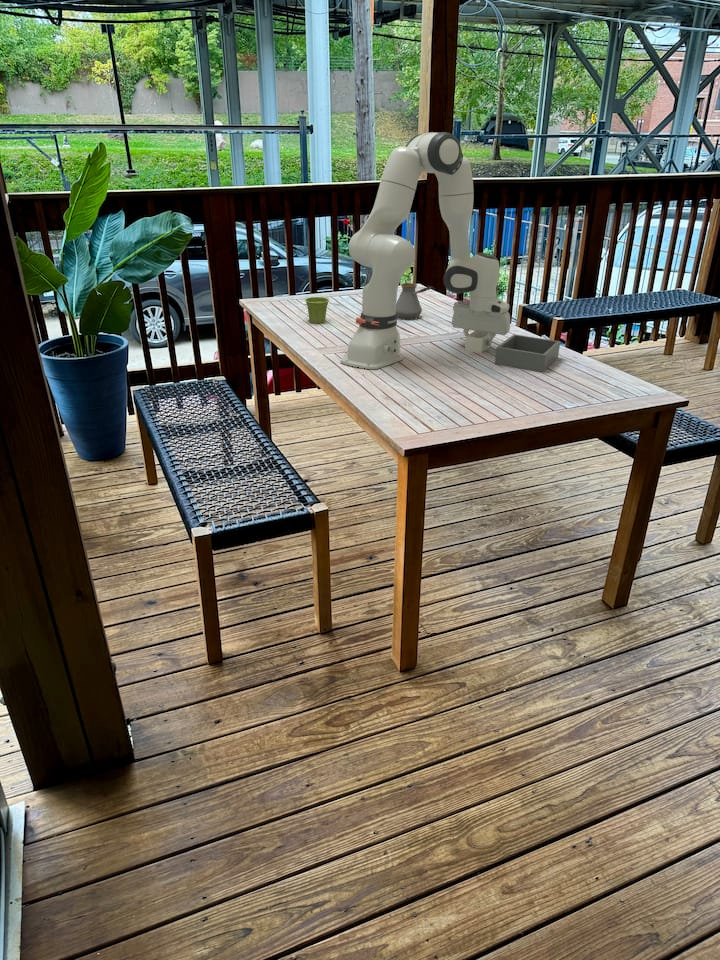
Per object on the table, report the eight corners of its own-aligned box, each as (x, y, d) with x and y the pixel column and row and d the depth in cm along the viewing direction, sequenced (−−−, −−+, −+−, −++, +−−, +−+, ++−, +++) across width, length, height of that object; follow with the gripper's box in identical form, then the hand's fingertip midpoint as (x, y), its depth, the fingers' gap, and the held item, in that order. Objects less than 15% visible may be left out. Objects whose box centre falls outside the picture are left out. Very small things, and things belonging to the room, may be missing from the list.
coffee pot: (388, 315, 268) (389, 278, 261) (411, 312, 273) (412, 275, 266) (418, 327, 252) (420, 288, 245) (441, 323, 257) (444, 285, 250)
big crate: (542, 373, 206) (545, 355, 204) (494, 365, 213) (496, 347, 210) (557, 358, 220) (560, 341, 217) (511, 351, 227) (514, 334, 224)
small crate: (481, 353, 223) (482, 339, 221) (464, 350, 226) (465, 336, 224) (490, 346, 231) (492, 332, 229) (474, 343, 234) (476, 329, 231)
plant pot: (333, 322, 256) (333, 300, 252) (313, 326, 252) (312, 303, 247) (321, 317, 263) (321, 295, 259) (301, 320, 258) (300, 298, 254)
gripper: (450, 301, 223) (447, 341, 230) (508, 309, 214) (503, 350, 221) (457, 298, 228) (454, 336, 235) (514, 305, 219) (509, 345, 226)
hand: (478, 343), depth 228 cm, fingers closed on small crate, 6 cm apart
